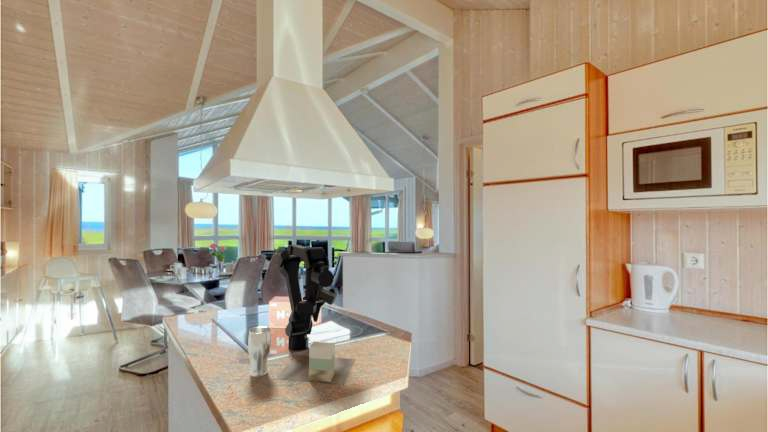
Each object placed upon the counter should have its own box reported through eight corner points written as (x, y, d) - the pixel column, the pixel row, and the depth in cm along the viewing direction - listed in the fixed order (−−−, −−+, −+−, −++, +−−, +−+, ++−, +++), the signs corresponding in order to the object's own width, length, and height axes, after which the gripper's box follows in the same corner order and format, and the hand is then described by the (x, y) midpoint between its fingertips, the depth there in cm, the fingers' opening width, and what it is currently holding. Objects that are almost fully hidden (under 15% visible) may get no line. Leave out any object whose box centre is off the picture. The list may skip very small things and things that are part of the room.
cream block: (309, 357, 111) (309, 346, 111) (313, 352, 116) (313, 341, 116) (330, 359, 111) (331, 348, 111) (334, 354, 115) (334, 343, 115)
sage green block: (308, 369, 111) (309, 358, 111) (313, 363, 116) (313, 352, 116) (330, 371, 111) (331, 359, 111) (334, 365, 115) (334, 354, 115)
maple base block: (308, 380, 112) (308, 368, 112) (312, 373, 116) (313, 363, 116) (330, 381, 111) (330, 370, 111) (333, 375, 115) (334, 364, 115)
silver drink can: (256, 382, 111) (258, 334, 111) (242, 376, 114) (243, 330, 114) (274, 374, 117) (275, 329, 117) (260, 369, 120) (261, 324, 120)
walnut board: (274, 382, 111) (274, 379, 111) (296, 357, 131) (296, 354, 131) (343, 388, 109) (343, 385, 109) (355, 361, 129) (355, 359, 129)
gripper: (328, 288, 118) (326, 335, 118) (340, 278, 137) (339, 319, 137) (295, 286, 119) (294, 333, 119) (312, 277, 138) (311, 317, 138)
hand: (311, 325), depth 128 cm, fingers open, 9 cm apart
